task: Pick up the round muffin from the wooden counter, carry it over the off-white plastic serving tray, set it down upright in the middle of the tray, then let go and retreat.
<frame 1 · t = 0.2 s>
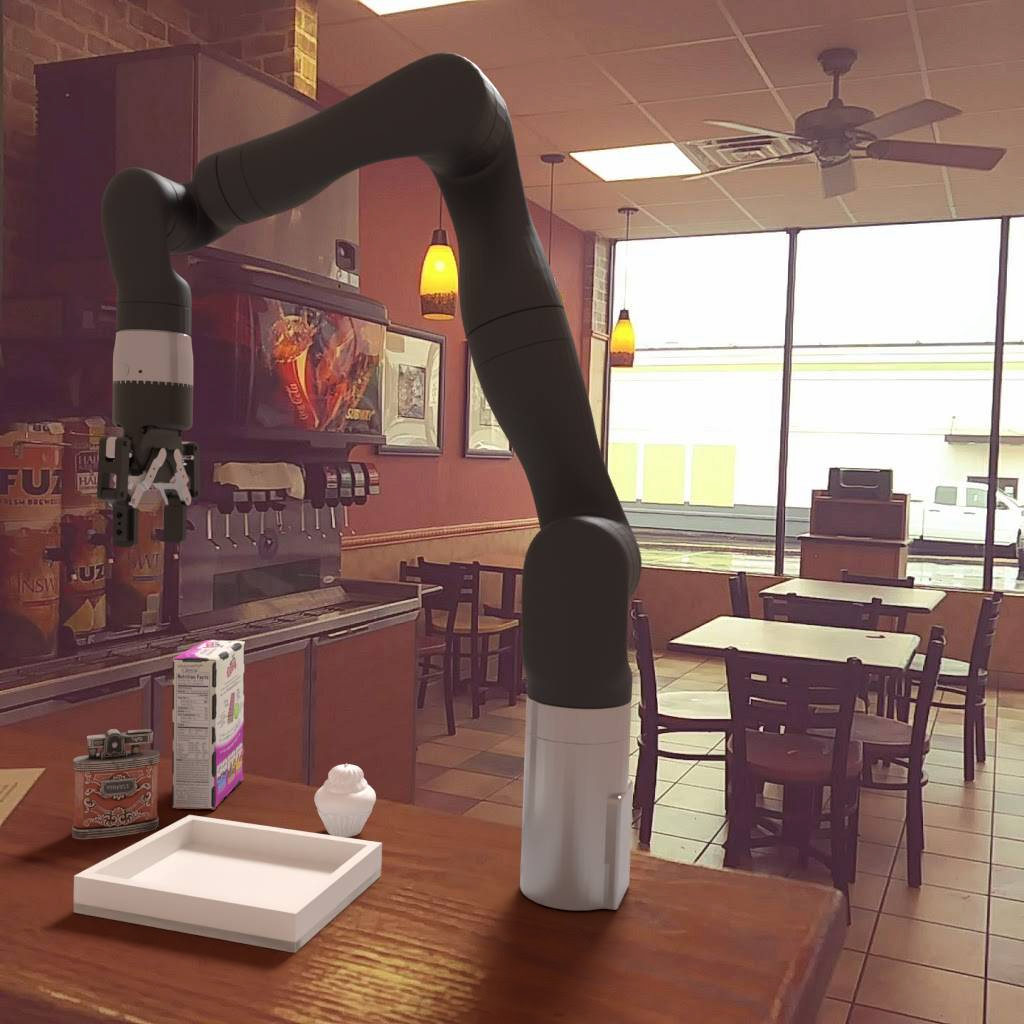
hand: (151, 544, 103), 28 cm above the counter, fingers open, 8 cm apart
lighter: (115, 832, 103), on the counter
muffin: (344, 833, 104), on the counter
candy bar box: (207, 796, 115), on the counter
tray: (235, 892, 89), on the counter
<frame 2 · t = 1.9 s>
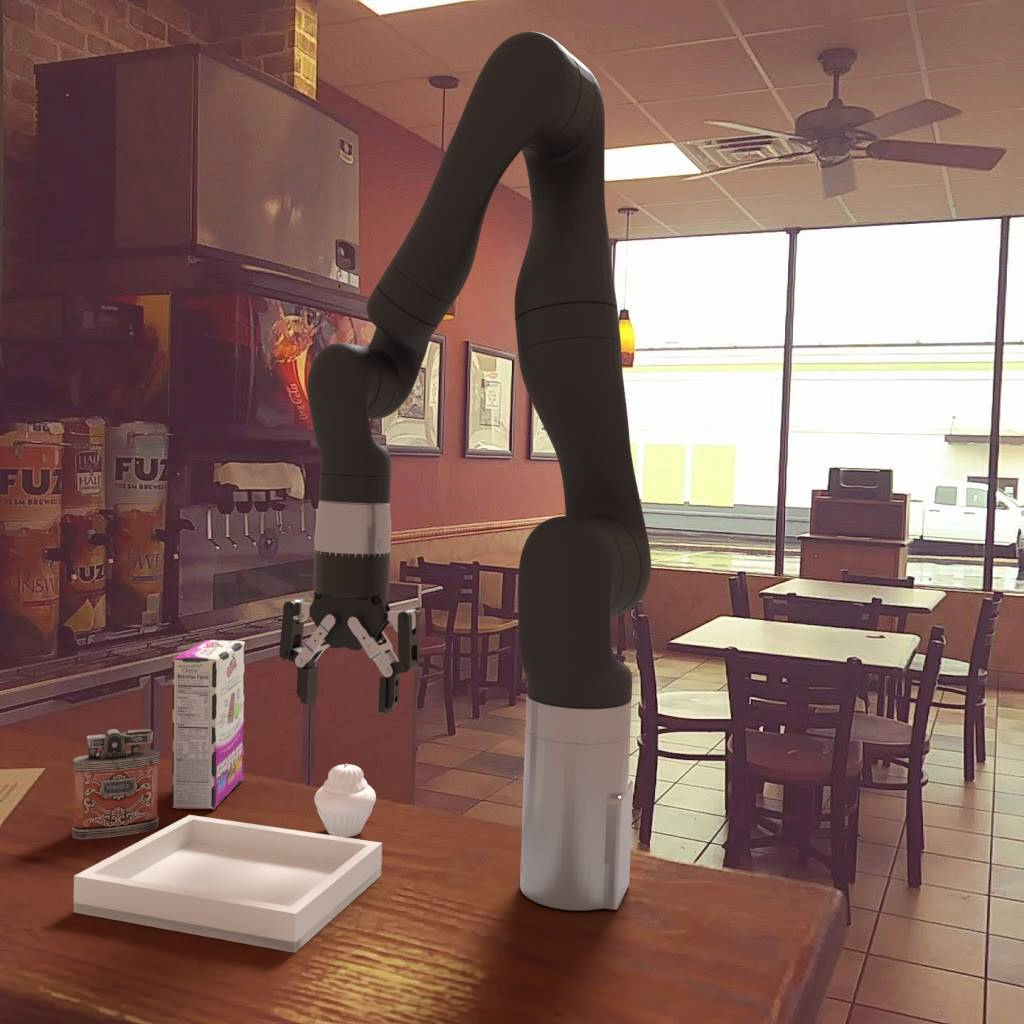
hand: (346, 707, 104), 13 cm above the counter, fingers open, 8 cm apart
nothing on the counter moved.
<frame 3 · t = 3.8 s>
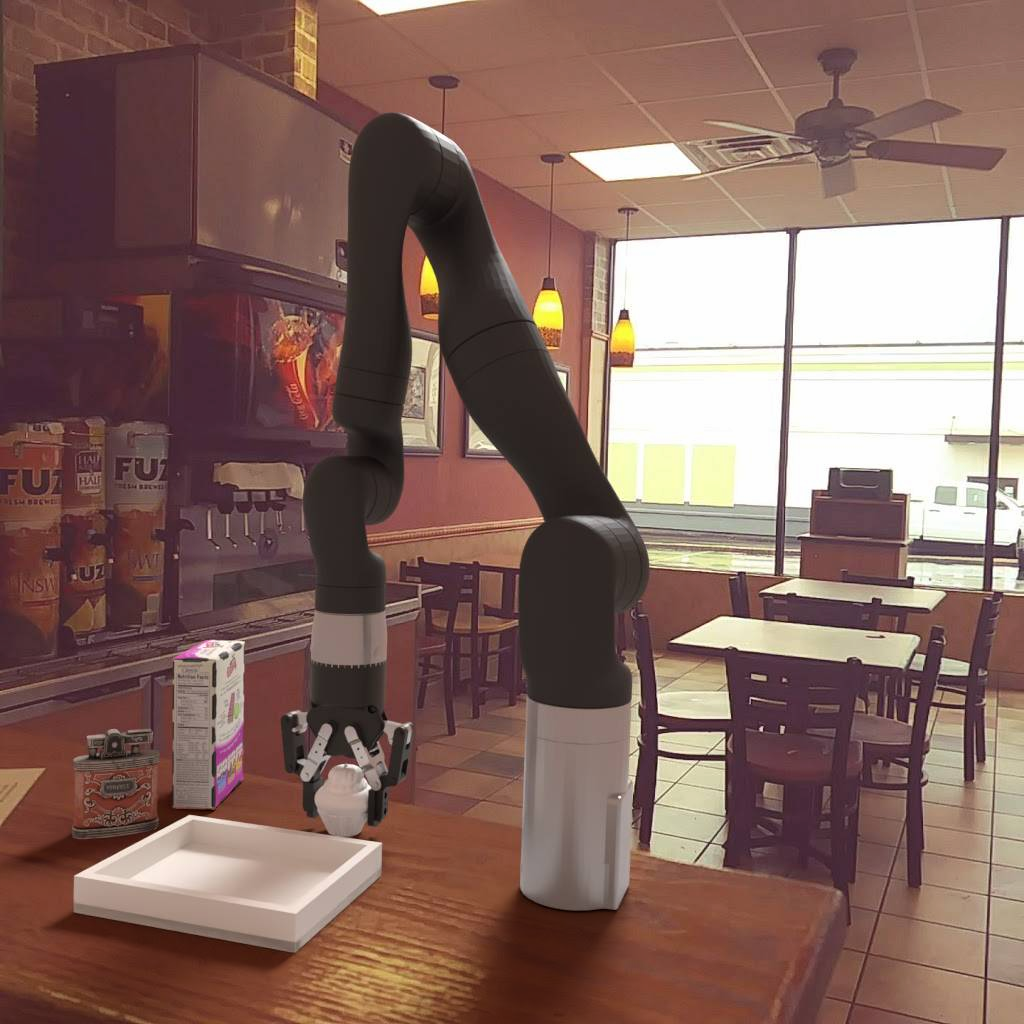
hand: (344, 819, 104), 1 cm above the counter, fingers closed on muffin, 6 cm apart
muffin: (344, 833, 104), on the counter, touching gripper
everything else where it was.
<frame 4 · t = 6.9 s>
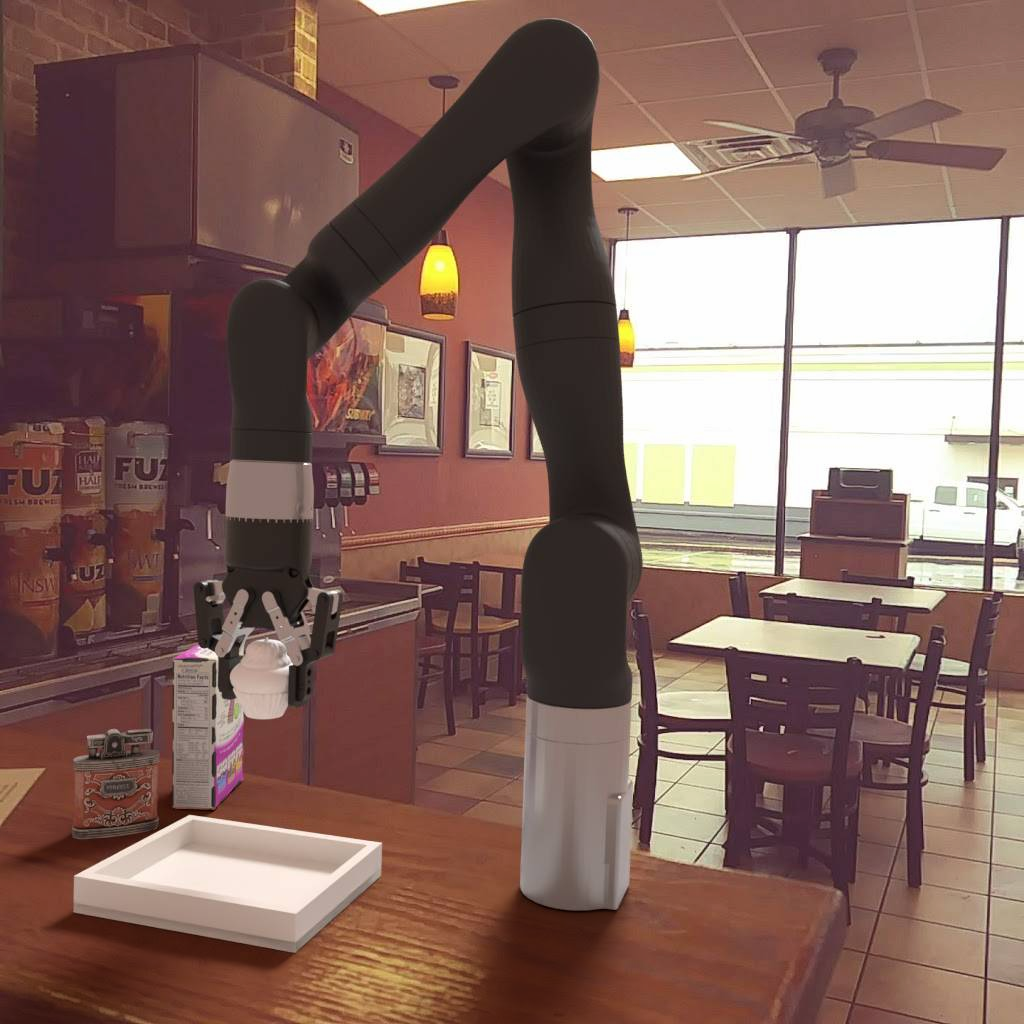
hand: (264, 701, 92), 16 cm above the counter, fingers closed on muffin, 6 cm apart
muffin: (264, 717, 92), point 14 cm above the counter, touching gripper
everything else where it was.
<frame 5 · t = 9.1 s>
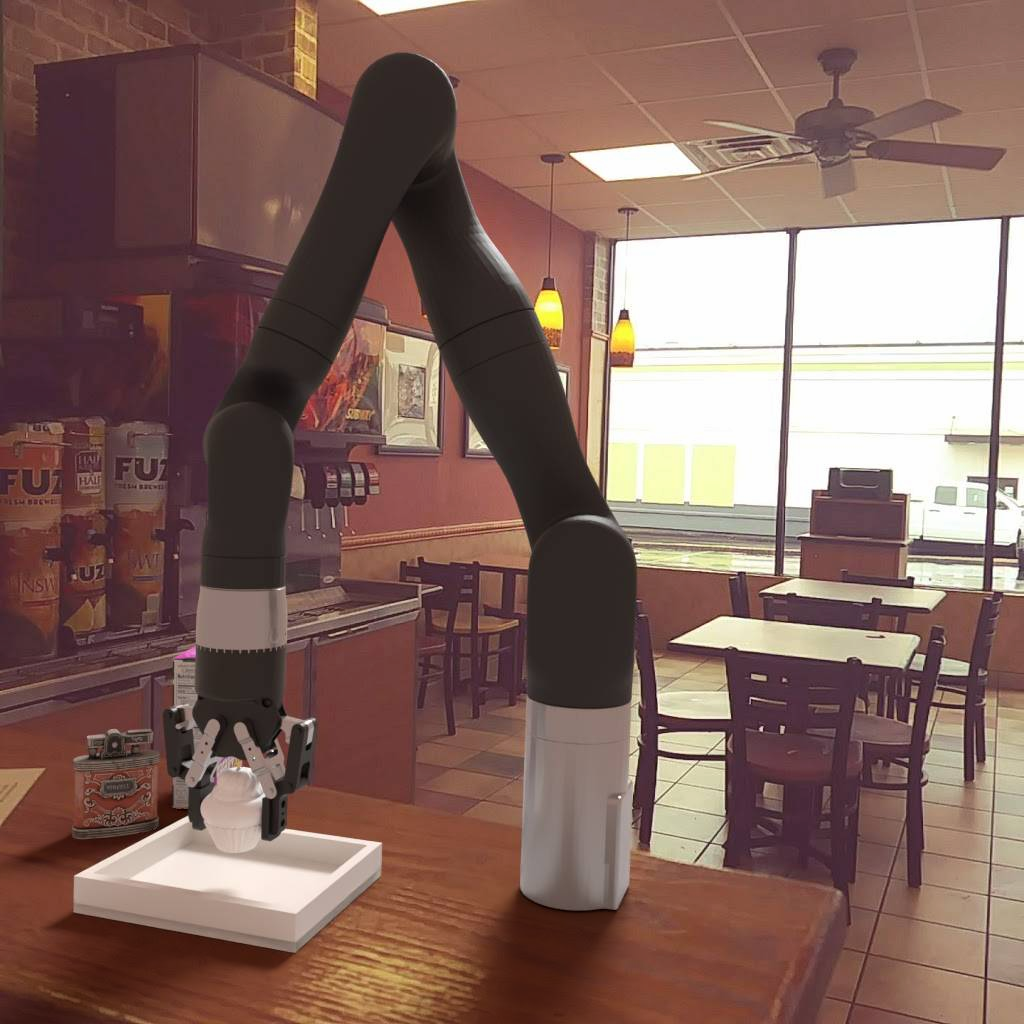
hand: (236, 832, 89), 5 cm above the counter, fingers closed on muffin, 6 cm apart
muffin: (236, 848, 89), point 4 cm above the counter, touching gripper
everything else where it was.
when the fingers open (4 cm above the counter, at t = 10.4 s): muffin drops 1 cm, resting on tray.
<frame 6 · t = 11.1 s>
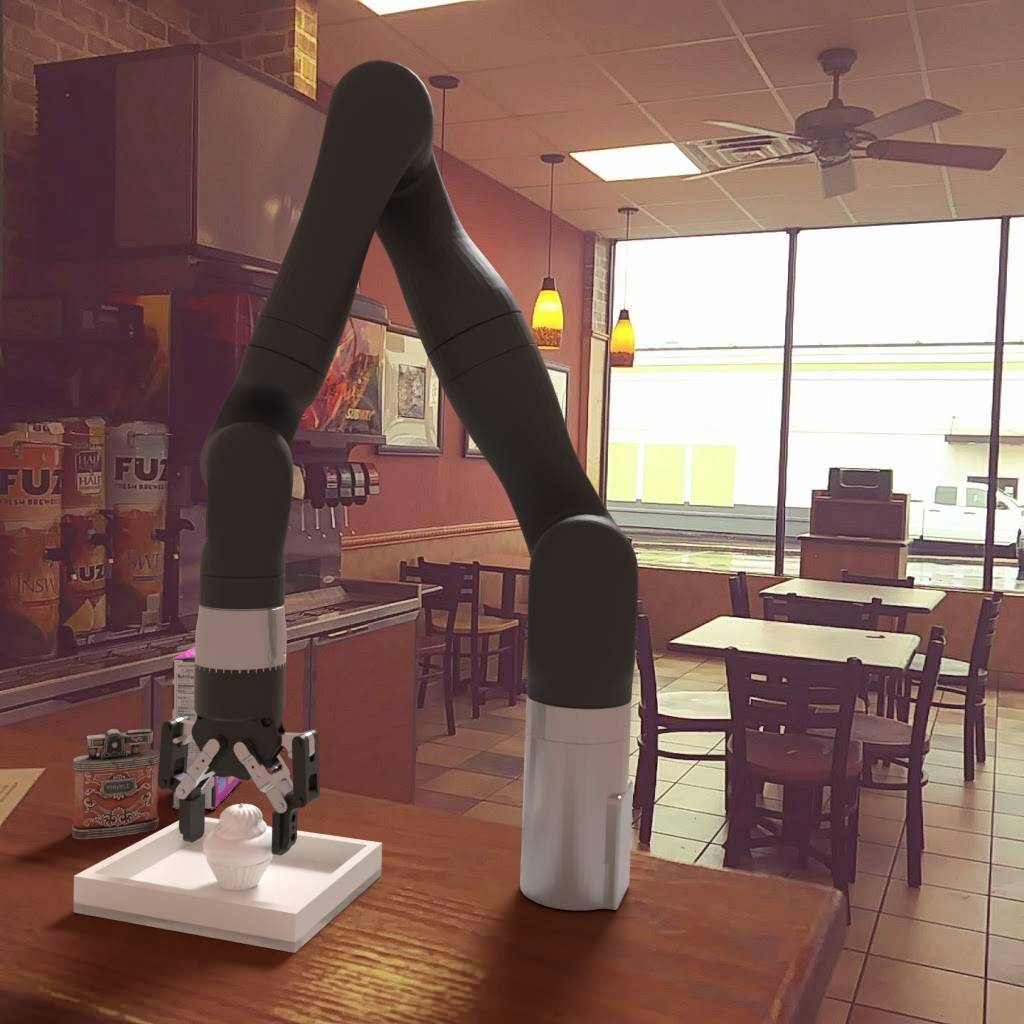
hand: (236, 845, 88), 4 cm above the counter, fingers open, 8 cm apart
muffin: (239, 886, 89), point 1 cm above the counter, touching tray
everything else where it was.
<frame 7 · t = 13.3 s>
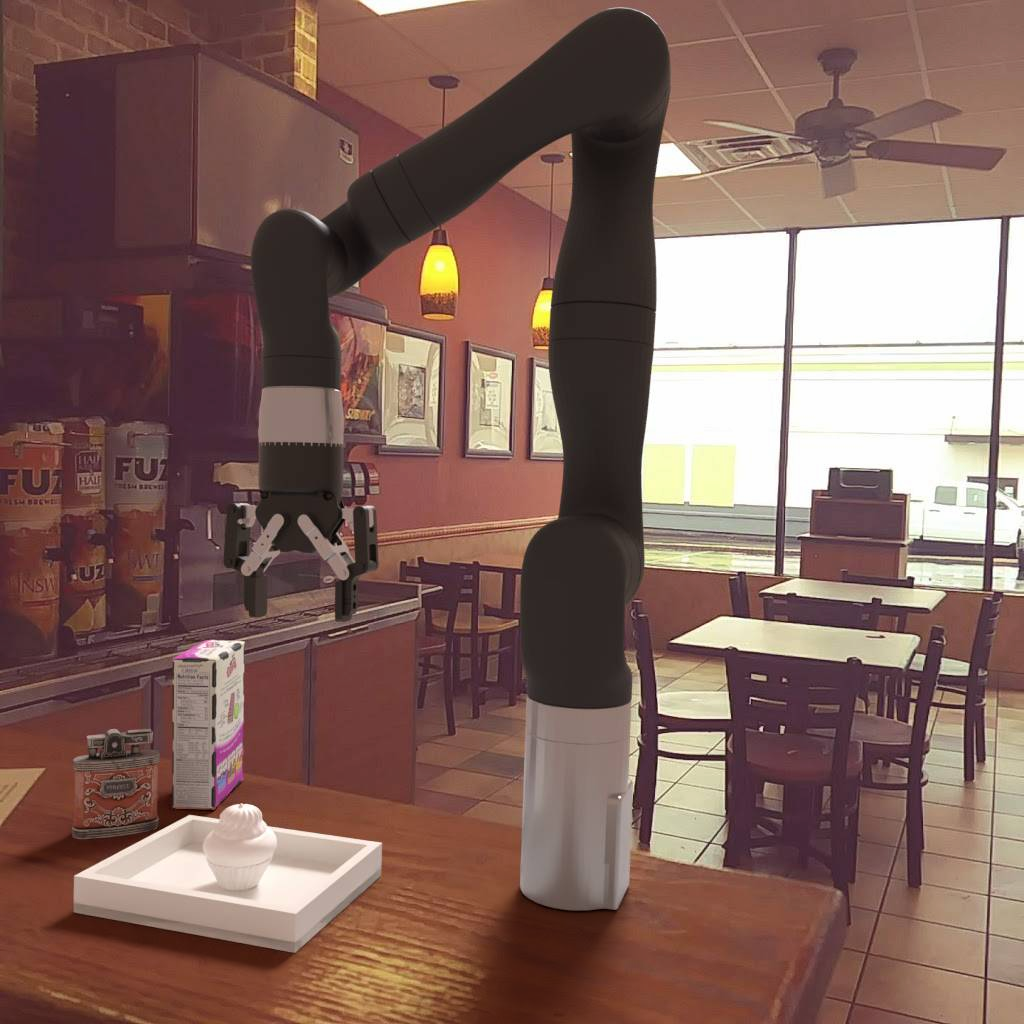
hand: (300, 618, 94), 23 cm above the counter, fingers open, 8 cm apart
nothing on the counter moved.
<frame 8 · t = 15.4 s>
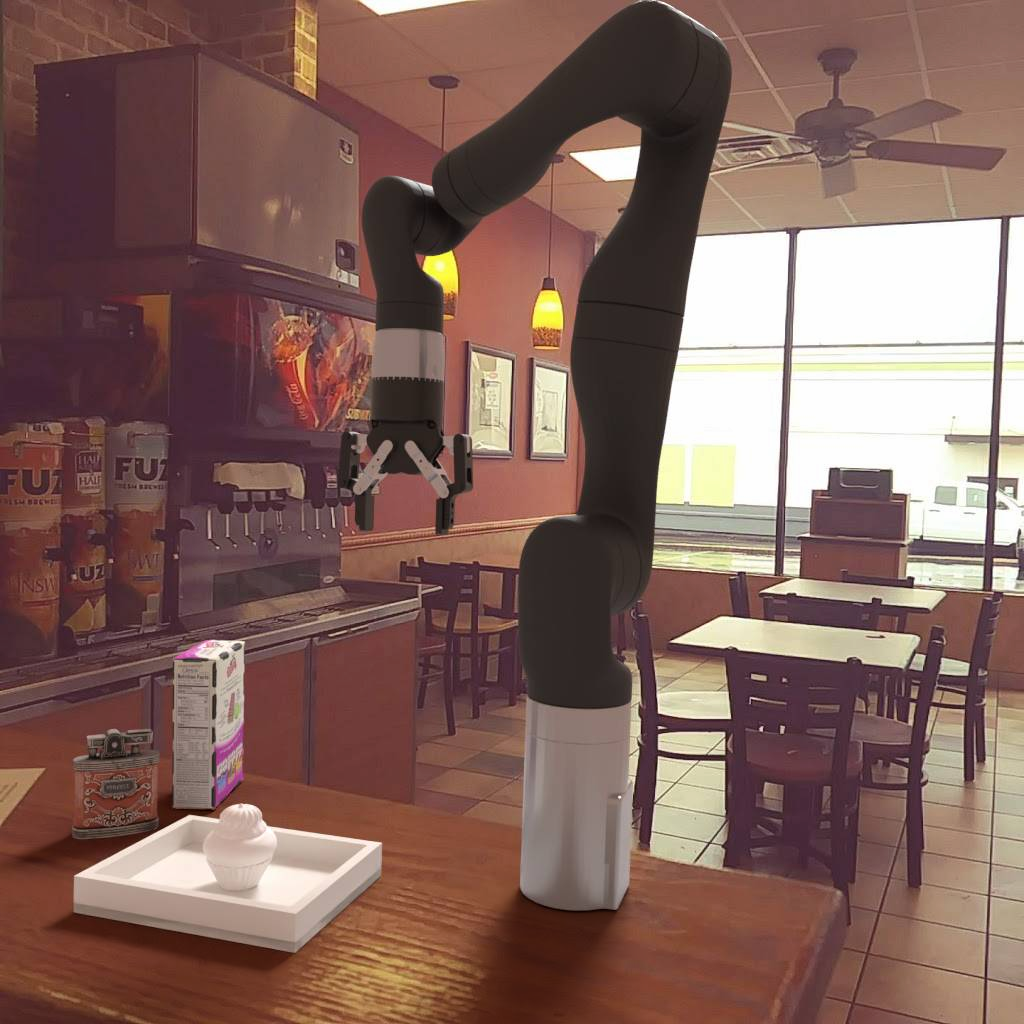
hand: (403, 532, 108), 30 cm above the counter, fingers open, 8 cm apart
nothing on the counter moved.
at the end: muffin 0.3 cm from the tray (horizontally); muffin touching tray; the gripper is holding nothing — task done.
